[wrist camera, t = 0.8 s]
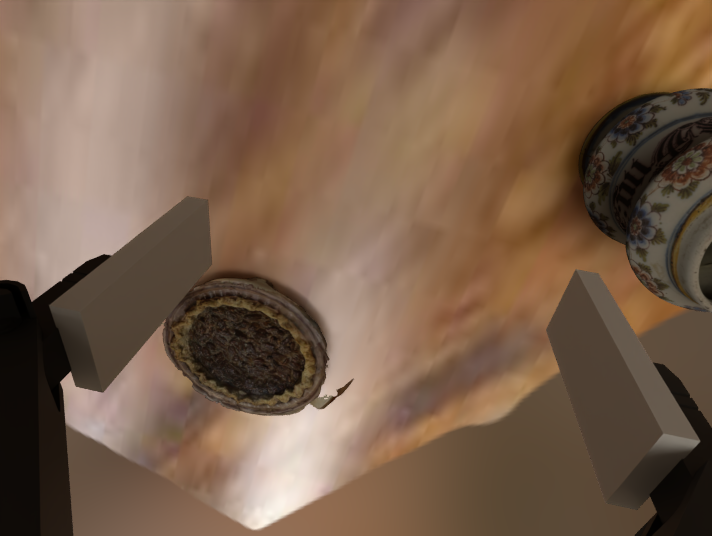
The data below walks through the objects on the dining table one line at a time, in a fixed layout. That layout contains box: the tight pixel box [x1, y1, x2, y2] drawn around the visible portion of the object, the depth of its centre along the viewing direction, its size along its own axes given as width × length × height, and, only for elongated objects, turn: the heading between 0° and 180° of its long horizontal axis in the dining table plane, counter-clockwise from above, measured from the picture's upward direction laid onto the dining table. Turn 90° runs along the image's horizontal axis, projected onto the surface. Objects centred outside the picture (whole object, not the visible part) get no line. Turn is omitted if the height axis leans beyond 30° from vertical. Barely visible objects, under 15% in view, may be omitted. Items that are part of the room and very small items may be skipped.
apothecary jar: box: [579, 88, 712, 312], centre depth 29 cm, size 12×12×18 cm
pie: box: [160, 277, 353, 416], centre depth 53 cm, size 28×27×5 cm
